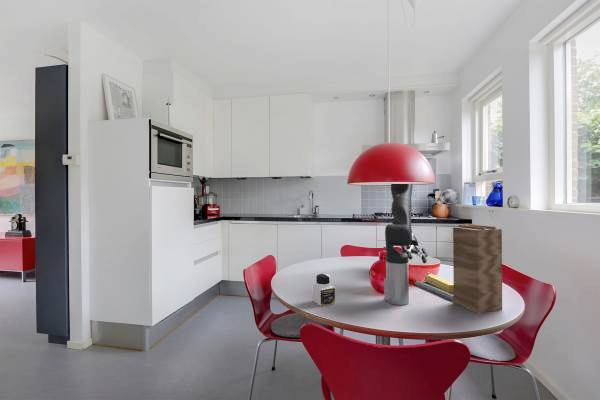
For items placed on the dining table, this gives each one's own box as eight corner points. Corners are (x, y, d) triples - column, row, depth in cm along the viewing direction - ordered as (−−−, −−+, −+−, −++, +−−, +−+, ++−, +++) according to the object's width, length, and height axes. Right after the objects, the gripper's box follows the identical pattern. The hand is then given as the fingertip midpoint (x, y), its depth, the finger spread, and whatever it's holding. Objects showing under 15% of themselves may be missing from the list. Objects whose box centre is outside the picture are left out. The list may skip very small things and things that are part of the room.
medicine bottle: (320, 306, 119) (320, 277, 119) (312, 301, 125) (312, 273, 125) (335, 303, 122) (334, 275, 122) (326, 298, 128) (325, 271, 128)
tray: (452, 301, 123) (452, 295, 123) (415, 284, 147) (415, 280, 147) (473, 298, 126) (473, 293, 126) (433, 282, 150) (433, 278, 150)
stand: (478, 313, 110) (477, 227, 110) (453, 302, 122) (453, 225, 122) (502, 309, 114) (501, 226, 113) (476, 299, 125) (475, 224, 125)
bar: (449, 293, 130) (449, 285, 130) (419, 278, 149) (419, 271, 149) (455, 292, 131) (456, 284, 131) (425, 278, 150) (425, 271, 150)
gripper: (401, 231, 162) (410, 252, 149) (423, 238, 165) (433, 259, 151) (394, 241, 166) (402, 262, 153) (416, 247, 169) (425, 268, 155)
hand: (418, 260), depth 152 cm, fingers open, 8 cm apart
